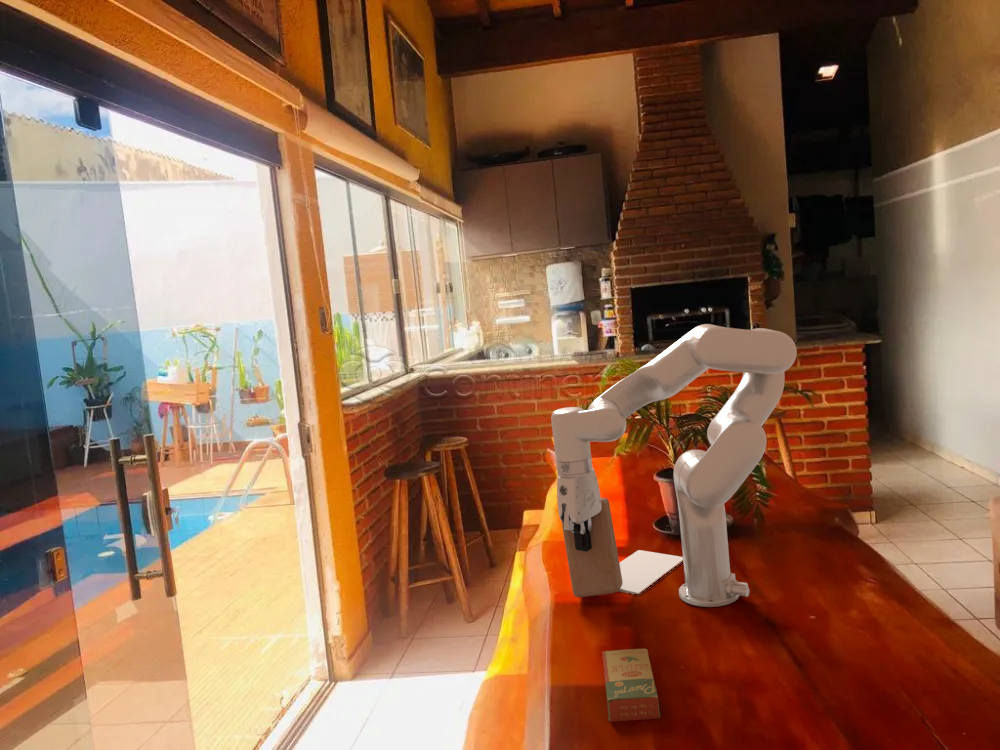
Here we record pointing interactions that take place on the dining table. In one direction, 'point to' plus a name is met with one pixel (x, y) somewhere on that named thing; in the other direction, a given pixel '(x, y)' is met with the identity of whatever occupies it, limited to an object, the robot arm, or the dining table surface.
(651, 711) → the carton
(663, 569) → the white mat
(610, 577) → the wooden block
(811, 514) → the dining table surface
